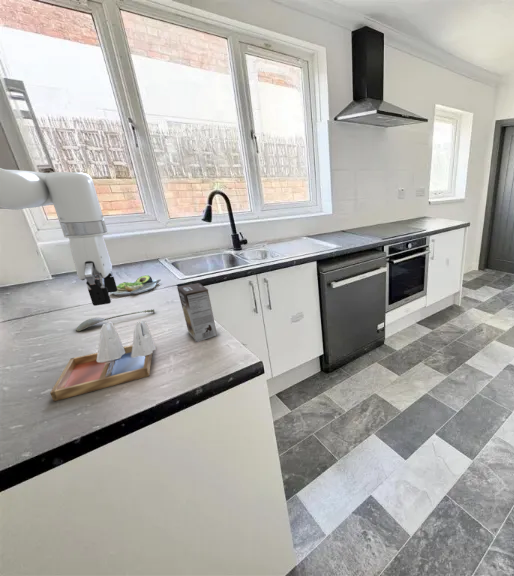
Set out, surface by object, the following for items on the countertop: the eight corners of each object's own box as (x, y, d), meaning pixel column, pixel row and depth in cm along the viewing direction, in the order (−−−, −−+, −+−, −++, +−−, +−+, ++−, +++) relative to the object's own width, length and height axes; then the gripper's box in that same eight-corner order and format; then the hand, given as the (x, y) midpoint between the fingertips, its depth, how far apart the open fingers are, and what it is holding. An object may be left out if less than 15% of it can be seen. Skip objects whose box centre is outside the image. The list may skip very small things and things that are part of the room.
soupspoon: (78, 328, 106) (76, 336, 102) (74, 319, 105) (72, 327, 100) (154, 309, 119) (156, 315, 115) (152, 301, 118) (153, 307, 113)
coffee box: (187, 332, 101) (176, 286, 96) (208, 326, 106) (199, 282, 100) (196, 342, 95) (184, 293, 90) (218, 335, 100) (208, 288, 94)
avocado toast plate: (156, 293, 136) (153, 283, 135) (104, 300, 129) (101, 290, 127) (163, 281, 153) (160, 272, 151) (117, 286, 145) (114, 277, 144)
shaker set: (98, 369, 78) (84, 330, 74) (101, 361, 81) (87, 323, 78) (156, 354, 85) (145, 317, 81) (156, 347, 88) (145, 312, 84)
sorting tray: (53, 401, 70) (49, 392, 69) (73, 366, 84) (70, 358, 83) (149, 376, 79) (146, 368, 78) (153, 347, 93) (151, 340, 92)
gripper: (73, 225, 76) (94, 290, 82) (50, 235, 62) (76, 313, 68) (112, 223, 80) (129, 285, 86) (98, 233, 66) (120, 306, 72)
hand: (106, 297), depth 77 cm, fingers open, 9 cm apart
